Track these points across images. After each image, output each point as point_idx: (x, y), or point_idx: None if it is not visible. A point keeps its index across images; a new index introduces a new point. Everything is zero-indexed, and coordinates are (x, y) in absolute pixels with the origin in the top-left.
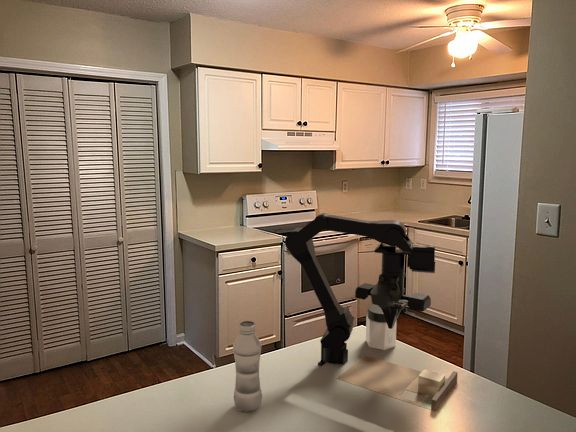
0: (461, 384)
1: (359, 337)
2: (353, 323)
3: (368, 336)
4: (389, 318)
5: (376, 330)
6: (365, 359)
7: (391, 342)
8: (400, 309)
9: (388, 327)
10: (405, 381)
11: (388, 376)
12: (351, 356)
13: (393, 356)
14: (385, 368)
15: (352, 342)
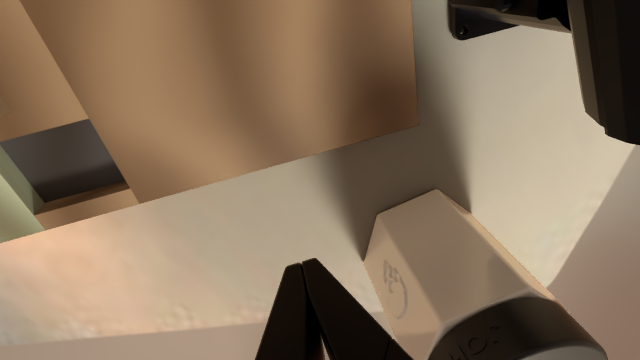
0: (4, 265)
1: (517, 239)
2: (628, 133)
3: (479, 229)
4: (330, 351)
5: (462, 267)
6: (395, 93)
7: (382, 273)
8: None
9: (315, 261)
10: (90, 60)
11: (191, 32)
12: (473, 99)
13: (343, 230)
14: (267, 96)
15: (523, 194)
